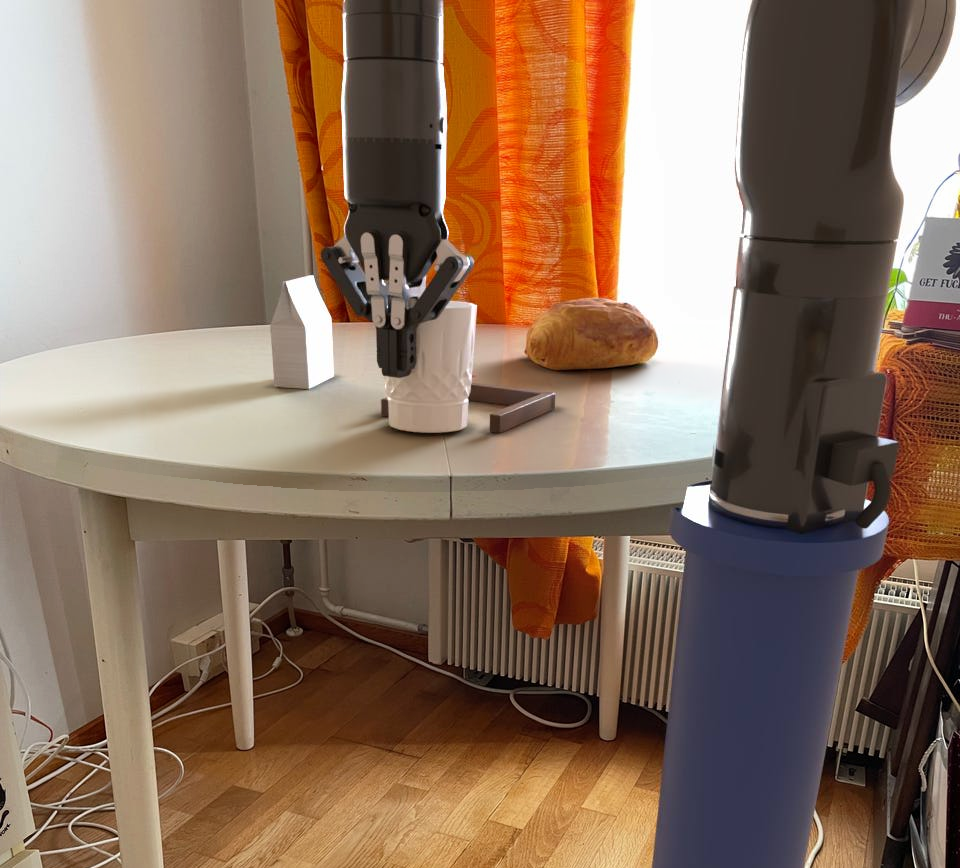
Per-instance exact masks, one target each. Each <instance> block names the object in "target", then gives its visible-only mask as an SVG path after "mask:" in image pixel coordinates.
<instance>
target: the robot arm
mask: <svg viewBox="0 0 960 868" xmlns="http://www.w3.org/2000/svg"><path fill="white" fill-rule="evenodd" d="M747 14H748V15H747V20H746V24H745V25H746V26H745V31H744V38H743V47H742V56H741V66H740V79H739V96H738V107H737V108H738V109H737V123H736V125H737V126H736V137H735V153H734V176H735V177H734V178H735V183H736V188H737V192H738V196H739V200H740V205H741V222H740V223H741V224H740V231H739V234H740V236H739V241H738V247H737V249H738V250H737V256H736V257H737V258H736V266H735V275H734V284H733V285H734V286H733V290H732V298H731V299H732V300H731V307H730V317H729V326H728V335H727V343H726V352H725V361H724V369H723V376H722V377H723V378H722V385H721V394H720V405H719V413H718V421H717V431H716V438H715V444H712V452H711V453H712V454H711V456H712V457H711V458H712V476H711V478H712V479H711V481H712V484H711V485H710V488H709V497H708V504H709V506H710V507H711V508H712V509H713V510H714V511H716V512H717V513H719V514H721V515H723V516H725V517H728V518H731V519H733V520H736V521H740V522H744V523H747V524H752V525H757V526H763V527H770V528H778V529H786V530H789V531H793V532H795V533H799V534H805V533H809V532H813V531H817V530H821V529H825V528H829V527H832V526H836V525H840V524H844V523H848V522H852V521H855V523H856V524H857V525H858V526H859V527H861V528H865V529H866V528H868V527H869V526H870V525H871V524H872V523H873V522H874V521H875V520H876V519H877V518H878V517H879V516H880V515H881V514H882V512H883V511H886V508H887V506H888V504H889V502H890V499H891V493H892V486H891V480H890V478H893V477H894V472H895V468H896V462H897V458H898V453H899V452H898V451H899V448H900V447H899V446H900V441H896V440H894V439H893V440H892V439H889V438H885V437H880V436H878V433H879V429H880V422H881V417H882V412H883V407H884V400H885V396H886V395H885V394H886V390H887V384H888V378H887V377H888V376H887V374H886V373H885V372H883V371H878V370H876V366H877V359H878V358H877V357H878V352H879V348H880V341H881V334H882V329H883V324H884V323H883V322H884V319H885V318H884V317H885V312H886V307H887V302H888V294H889V290H890V284H891V278H892V273H893V267H894V263H895V255H896V251H897V244H898V241H897V240H898V239H899V235H900V229H901V224H902V218H903V213H904V206H905V205H904V204H905V197H904V192H903V190H902V187H901V186H900V184H899V182H898V180H897V178H896V176H895V172H894V168H893V163H892V150H891V149H892V147H891V145H892V135H893V127H894V119H895V118H894V117H895V111H896V108H899V107H902V106H903V105H904V104H907V103H908V102H910V101H911V100H912V99H914V98H915V97H916V96H917V95H919V94H920V93H921V92H922V91H923V90H924V89H925V88H926V87H927V86H928V85H929V84H930V82H931V80H932V79H933V78H934V77H935V75H936V73H937V72H938V70H939V69H940V67H941V65H942V64H943V61H944V59H945V57H946V55H947V52H948V50H949V47H950V44H951V40H952V37H953V33H954V26H955V21H956V14H957V0H751V3H750V5H749V10H748V13H747ZM342 35H343V37H342V38H343V60H344V62H343V78H342V88H341V89H342V90H341V121H342V125H341V126H342V157H343V190H344V198H345V200H346V202H347V206H348V214H347V217H346V220H345V222H344V226H343V231H344V235H343V236H342V237H341V238H340V239H339V240H338V241H337V242H336V243H335V244H334V245H333V246H326V247H323V248H322V249H321V251H320V258H321V260H322V263H323V264H324V266H325V267H326V269H327V270H328V272H329V274H330V275H331V277H332V279H333V280H334V283H336V285H337V287H338V289H339V291H340V292H341V294H342V295H343V297H344V298H345V300H346V301H347V304H348V305H349V307H350V308H351V310H352V311H353V313H354V315H355V316H356V317H359V318H361V317H362V318H365V319H367V320H369V321H370V322H371V323H373V325H374V327H375V337H376V338H375V339H376V362H377V366H378V368H379V369H381V375H382V376H383V377H385V376H388V377H396V378H402V377H405V376H409V375H410V373H411V370H412V369H414V368H415V365H416V330H417V327H418V326H419V324H421V323H423V322H426V321H429V320H435V319H437V318H438V317H439V315H440V314H441V313H442V311H443V310H444V308H445V307H446V305H447V304H448V303H449V301H452V299H453V297H454V296H455V294H456V293H457V291H458V290H459V289H460V287H461V285H462V284H463V283H464V282H465V280H466V279H467V277H468V275H469V274H470V273H471V271H472V270H473V269H474V265H475V260H474V258H473V257H472V256H471V255H470V254H467V253H466V254H462V253H461V251H459V250H458V249H457V248H456V246H454V245H453V244H452V243H451V242H450V241H449V228H448V226H447V224H446V221H445V218H444V207H445V203H446V202H445V201H446V193H447V192H446V184H447V182H446V181H447V180H446V179H447V177H446V176H447V175H446V173H447V130H448V121H447V95H446V86H445V76H444V65H443V64H444V0H342ZM432 267H433V269H434V271H435V272H436V273H435V274H434V276H433V277H432V278H431V280H430V281H429V283H428V284H427V275H428V273H429V272H430V270H431V269H432ZM363 270H364V271H363ZM384 281H385V282H384ZM872 482H873V487H874V493H873V497H872V499H871V503H870V504H869V505H868V506H867V507H866V508H865V509H864V505H865V500H866V499H867V494H868V488H869V483H872Z"/></svg>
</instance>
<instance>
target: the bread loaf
mask: <svg viewBox="0 0 960 868" xmlns="http://www.w3.org/2000/svg"><path fill="white" fill-rule="evenodd" d="M658 337H659V336H658V334H657V331H656V328H655V327H654V325H653V324H652V323H651V321H650V320H649V319H648V318H647V317H646V316H645V315H643V314H642V312H641V311H640V310H639V309H638V308H637V307H636V305H633V304H630V303H627V302H623V301H618V300H613V299H610V298H604V297H586V298H579V299H570V300H566V301H562V302H559V303H555V304H551V306H550V307H549V308H548V309H546V310H545V311H543V312H542V313H541V314H540V315H538V316H536V317H535V319H534V320H533V322H532V323H531V325H530V327H529V329H528V331H527V334H526V338H525V339H526V340H525V349H524V351H523V352H524V354H525V355H526V357H527V359H528V360H530V361H532V362H533V363H536V364H537V365H539V366H541V367H543V368H544V367H545V368H546V369H550V370H553V371H570V370H593V369H596V370H597V369H608V368H609V369H610V368H617V367H625V366H632V365H636V364H644V363H646V362H649V361H650V360H651V359H652V358H654V356H655V354H656V353H657V351H658V347H659V339H658Z"/></svg>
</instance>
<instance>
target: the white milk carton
mask: <svg viewBox="0 0 960 868" xmlns="http://www.w3.org/2000/svg"><path fill="white" fill-rule="evenodd" d="M317 286H318V285H317V283H316V281H315V277H314V274H312V275H305V276H301V277H298V278H293V279H289V280H285V281H282V285H281V291H280V295H279V299H278V302H277V305H276V308H275V311H274V314H273V316H272V318H271V319H272V320H271V322H270V325H269V326H270V340H271V356H272V370H273V384H274V387H275V388H286V389H287V388H289V389H303V390H304V389H305V390H310V389H312V388H314V387H317V386H318V385H320V384H322V383H324V382H326V381H328V380H330V379H332V378H334V377H335V369H334V348H333V327H332V323H333V322H332V316H331V314H330V313H329V311H328V308H327V306H326V304H325V302H324V300H323V298H322V296H321V294H320V291H319V289H318V287H317Z"/></svg>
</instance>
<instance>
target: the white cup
mask: <svg viewBox="0 0 960 868" xmlns="http://www.w3.org/2000/svg"><path fill="white" fill-rule="evenodd" d="M477 310H478V305H477V304H476V303H473V302H468V301H462V300H461V301H460V300H450V301H449V303H448V304H447V305H446V307H445V308H444V310H443V311H442V313H441V314H440V315H439V317H438V318H437V319H435V320H429V321H426V322H423V323H421V324H419V326H418V327H417V330H416V365H415V368H414V369H412V370H411V373H410V375H409V376H405V377H402V378H396V377H388V376H384V380H385V382H384V383H385V384H384V385H385V388H384V389H385V393H386V395H387V396H386V398H387V399H388V425H389V427H391V428H393V429H396V430H400V431H406V432H413V433H421V434H424V433H427V434H431V433H432V434H433V433H435V434H439V433H440V434H441V433H450V432H457V431H461V430H463V429H465V428H467V426H468V421H469V419H468V418H469V404H470V403H469V401H470V400H468V397H469V394H470V391H471V383H472V379H473V377H472V376H473V371H474V370H473V369H474V356H475V355H474V354H475V339H476V324H477V312H478V311H477Z"/></svg>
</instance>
